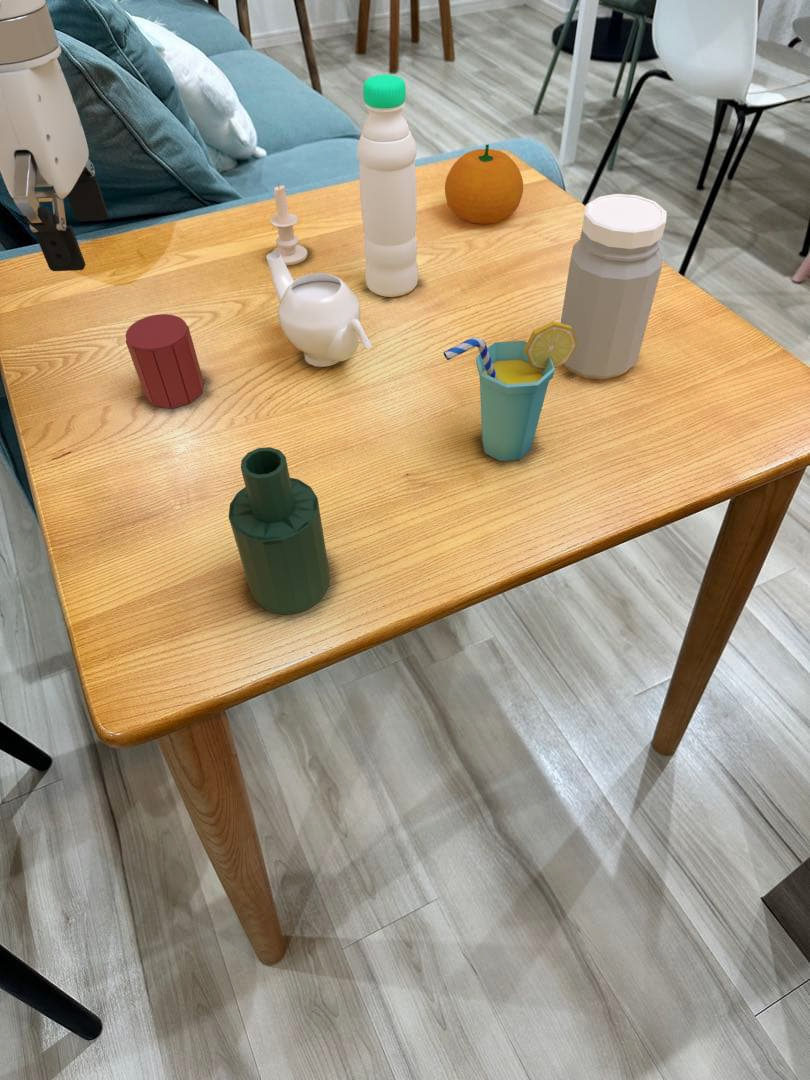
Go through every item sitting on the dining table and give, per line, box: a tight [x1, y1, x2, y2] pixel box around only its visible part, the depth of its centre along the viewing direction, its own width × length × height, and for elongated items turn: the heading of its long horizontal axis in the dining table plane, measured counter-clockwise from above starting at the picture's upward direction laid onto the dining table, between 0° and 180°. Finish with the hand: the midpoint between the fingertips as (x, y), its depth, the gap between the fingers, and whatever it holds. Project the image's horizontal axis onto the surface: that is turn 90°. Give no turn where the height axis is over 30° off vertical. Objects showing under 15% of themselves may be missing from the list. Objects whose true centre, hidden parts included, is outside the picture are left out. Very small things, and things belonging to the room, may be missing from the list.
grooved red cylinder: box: [125, 313, 205, 410], centre depth 84 cm, size 7×7×8 cm
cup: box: [443, 320, 578, 462], centre depth 74 cm, size 14×8×15 cm, turn 118°
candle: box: [269, 182, 309, 266], centre depth 103 cm, size 5×5×10 cm
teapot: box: [265, 251, 373, 368], centre depth 87 cm, size 10×20×9 cm, turn 38°
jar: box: [560, 193, 668, 381], centre depth 82 cm, size 10×10×18 cm
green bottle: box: [228, 446, 331, 615], centre depth 62 cm, size 7×7×15 cm
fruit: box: [444, 144, 524, 225], centre depth 110 cm, size 12×12×10 cm
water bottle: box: [356, 73, 419, 298], centre depth 92 cm, size 7×7×25 cm
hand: (81, 243), depth 72 cm, fingers open, 9 cm apart
